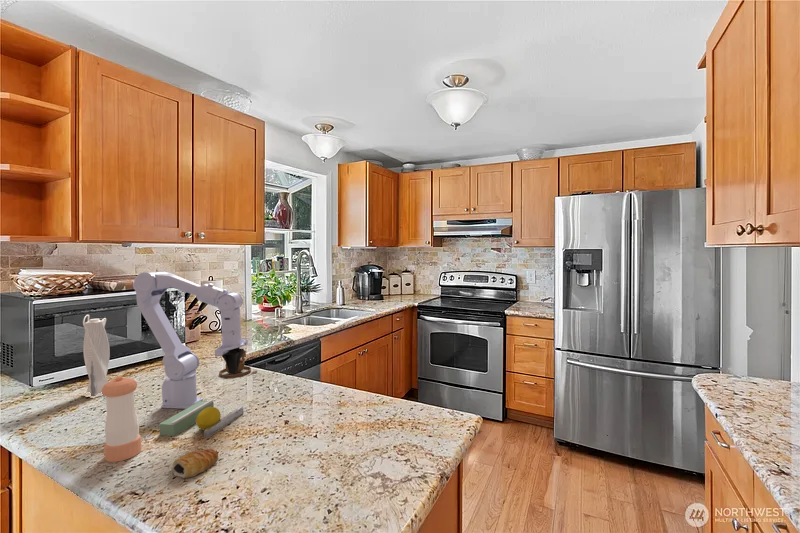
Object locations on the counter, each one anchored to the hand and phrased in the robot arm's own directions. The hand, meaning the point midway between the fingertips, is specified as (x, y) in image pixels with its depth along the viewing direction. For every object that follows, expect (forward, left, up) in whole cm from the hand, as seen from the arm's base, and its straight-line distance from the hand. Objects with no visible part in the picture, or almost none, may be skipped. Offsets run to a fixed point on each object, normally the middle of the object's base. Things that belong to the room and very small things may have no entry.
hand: (233, 372), depth 126 cm
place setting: (-18, +33, -11) cm, 39 cm away
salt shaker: (-8, -33, -10) cm, 35 cm away
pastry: (+14, -36, -10) cm, 40 cm away
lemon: (+3, -13, -7) cm, 15 cm away
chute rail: (+7, -15, -10) cm, 19 cm away
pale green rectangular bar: (-5, -15, -10) cm, 19 cm away
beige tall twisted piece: (-55, +2, -10) cm, 56 cm away
